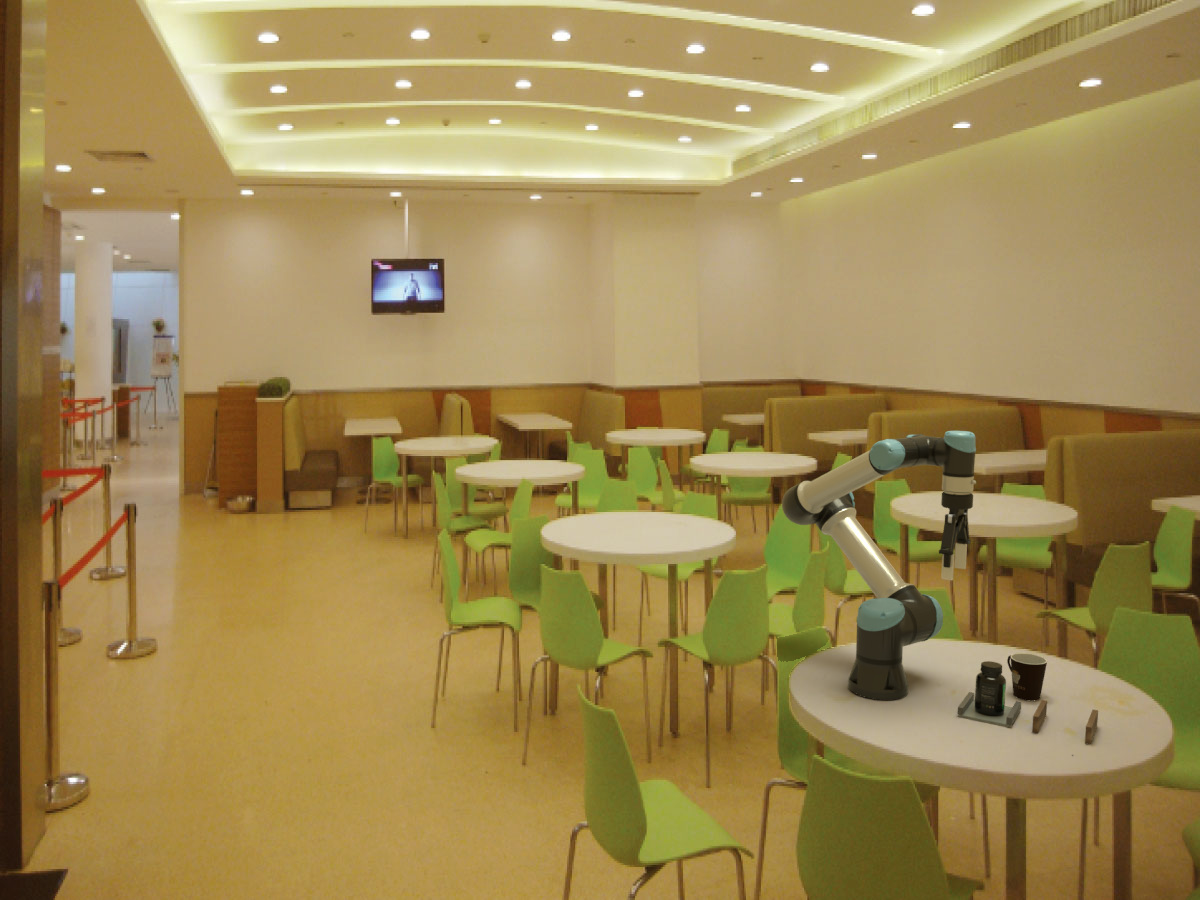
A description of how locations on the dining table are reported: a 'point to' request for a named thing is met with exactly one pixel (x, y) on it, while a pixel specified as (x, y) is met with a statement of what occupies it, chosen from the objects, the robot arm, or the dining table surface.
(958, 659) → the dining table surface
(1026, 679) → the coffee mug
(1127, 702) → the dining table surface
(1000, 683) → the supplement bottle
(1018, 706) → the slate pad
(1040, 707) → the walnut cradle
